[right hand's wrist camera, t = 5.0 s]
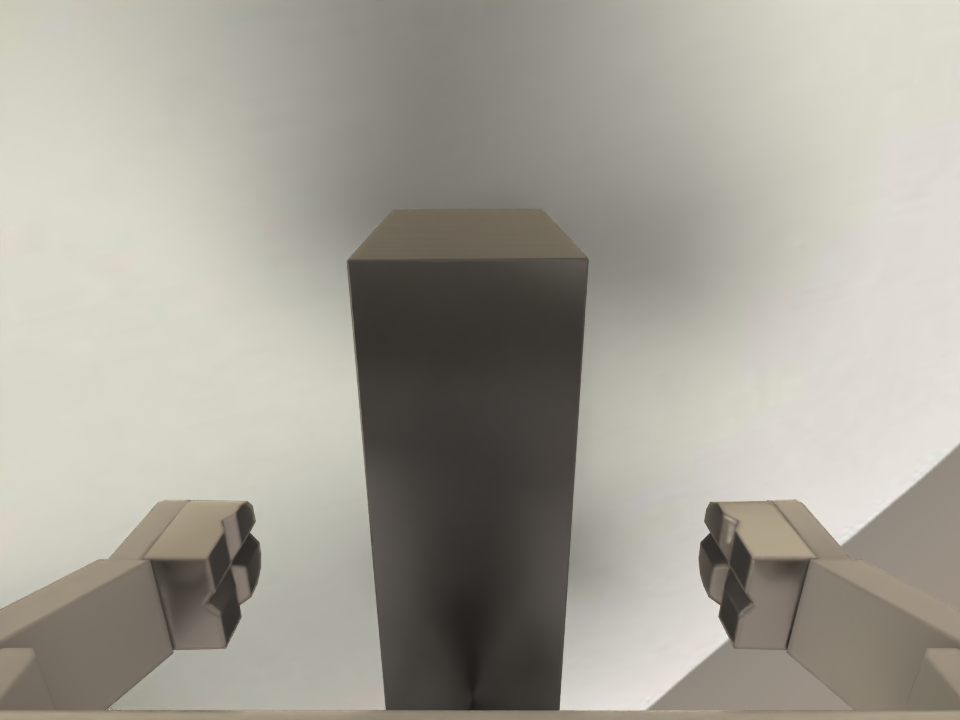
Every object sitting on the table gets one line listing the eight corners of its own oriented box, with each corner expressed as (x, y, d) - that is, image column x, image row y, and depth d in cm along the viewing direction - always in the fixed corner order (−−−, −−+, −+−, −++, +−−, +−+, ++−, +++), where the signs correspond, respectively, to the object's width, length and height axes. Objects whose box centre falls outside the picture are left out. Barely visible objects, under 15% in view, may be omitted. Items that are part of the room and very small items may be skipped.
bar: (392, 209, 19) (346, 259, 12) (542, 208, 19) (589, 257, 12) (422, 733, 28) (406, 947, 21) (524, 730, 28) (544, 943, 21)
